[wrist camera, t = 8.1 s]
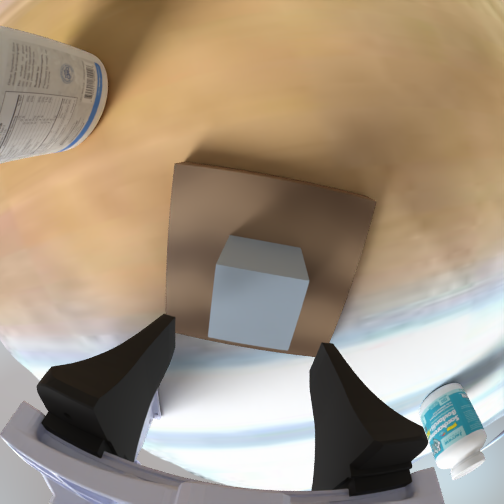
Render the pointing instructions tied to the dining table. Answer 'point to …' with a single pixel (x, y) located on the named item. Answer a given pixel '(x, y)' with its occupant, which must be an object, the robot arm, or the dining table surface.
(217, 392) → the dining table surface
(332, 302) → the base
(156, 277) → the dining table surface
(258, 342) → the block
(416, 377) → the dining table surface
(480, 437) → the pill bottle
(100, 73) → the supplement tub
